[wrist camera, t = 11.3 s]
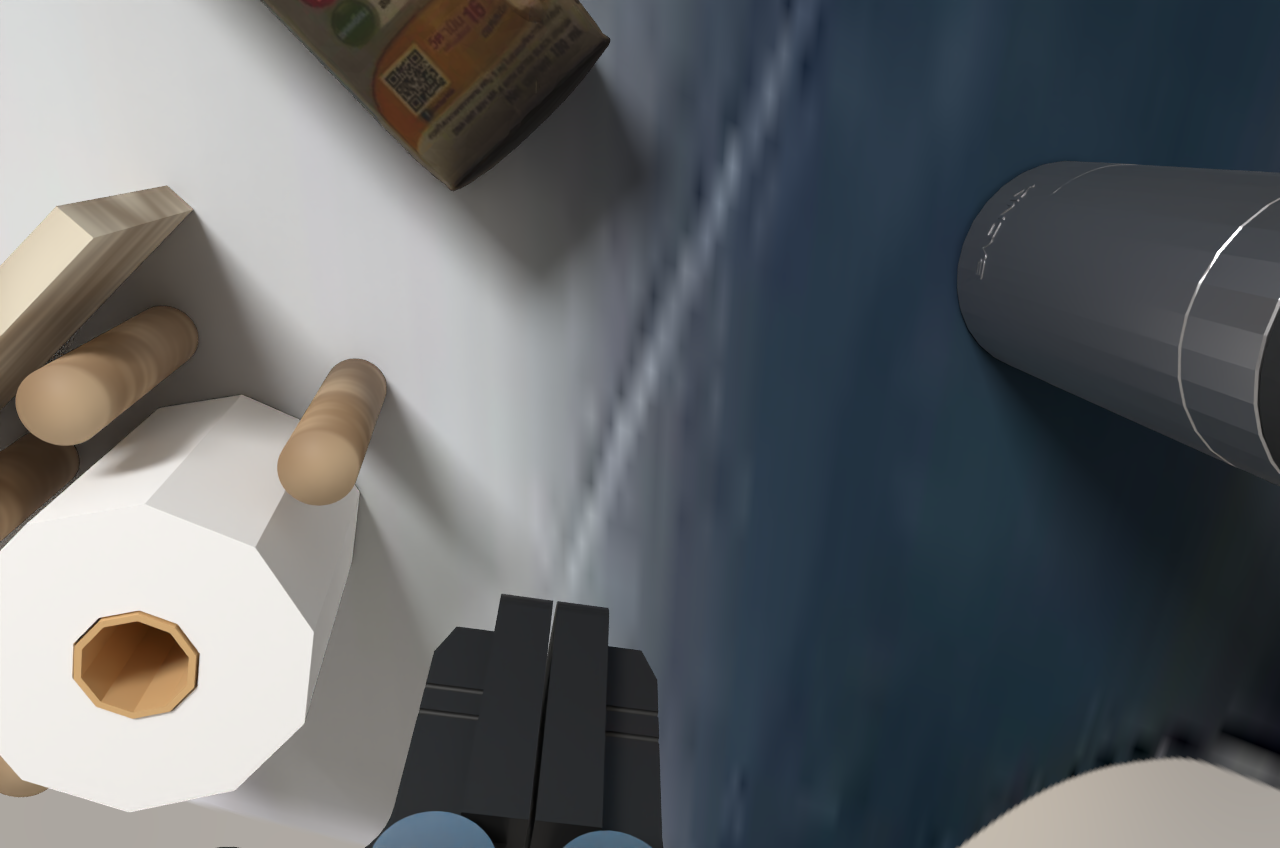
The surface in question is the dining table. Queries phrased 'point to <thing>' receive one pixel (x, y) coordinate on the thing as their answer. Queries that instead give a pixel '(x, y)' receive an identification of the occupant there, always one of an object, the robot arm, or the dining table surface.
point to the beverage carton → (451, 69)
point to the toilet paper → (169, 612)
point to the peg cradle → (130, 365)
